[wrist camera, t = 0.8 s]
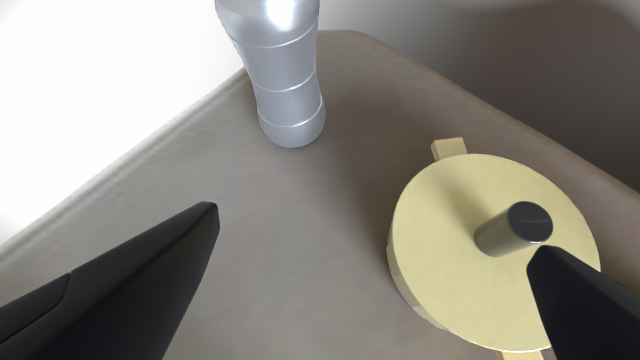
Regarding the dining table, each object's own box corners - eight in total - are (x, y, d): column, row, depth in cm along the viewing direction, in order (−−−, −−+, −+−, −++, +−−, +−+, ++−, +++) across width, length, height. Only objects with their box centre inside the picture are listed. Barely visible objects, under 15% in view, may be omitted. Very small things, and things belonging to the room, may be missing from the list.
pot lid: (538, 150, 24) (592, 106, 19) (627, 336, 19) (737, 344, 14) (373, 171, 24) (383, 133, 19) (414, 363, 19) (443, 382, 14)
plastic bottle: (260, 112, 33) (166, -133, 15) (319, 99, 34) (298, -157, 15) (269, 162, 31) (169, -61, 12) (333, 147, 31) (328, -92, 13)
